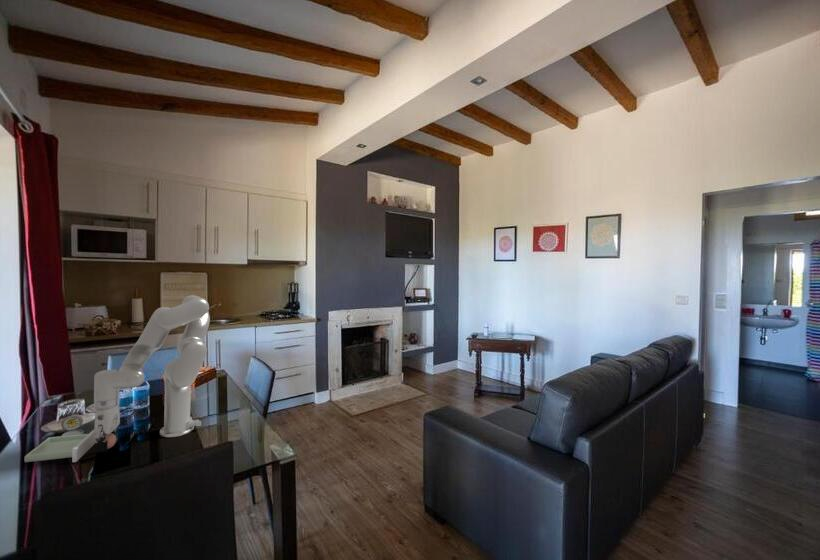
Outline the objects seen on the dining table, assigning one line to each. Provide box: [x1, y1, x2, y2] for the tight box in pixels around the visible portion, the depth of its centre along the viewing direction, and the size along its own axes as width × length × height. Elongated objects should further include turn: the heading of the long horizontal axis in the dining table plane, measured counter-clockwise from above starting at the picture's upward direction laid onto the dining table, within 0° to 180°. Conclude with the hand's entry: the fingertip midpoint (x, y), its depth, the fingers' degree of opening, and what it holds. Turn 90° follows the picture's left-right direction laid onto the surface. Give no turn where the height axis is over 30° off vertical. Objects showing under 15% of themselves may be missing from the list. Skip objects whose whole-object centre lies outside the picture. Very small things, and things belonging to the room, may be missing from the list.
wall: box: [71, 429, 104, 463], centre depth 139 cm, size 1×20×5 cm, turn 20°
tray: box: [24, 433, 89, 463], centre depth 137 cm, size 14×14×2 cm
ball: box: [95, 433, 117, 450], centre depth 139 cm, size 6×6×6 cm
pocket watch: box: [61, 408, 84, 436], centre depth 148 cm, size 8×8×10 cm
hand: (106, 446), depth 139 cm, fingers open, 6 cm apart
